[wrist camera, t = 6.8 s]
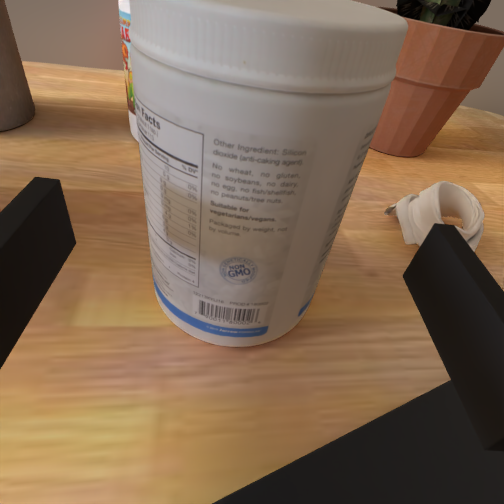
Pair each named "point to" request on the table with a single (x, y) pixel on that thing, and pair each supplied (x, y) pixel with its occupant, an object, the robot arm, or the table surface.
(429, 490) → the mat
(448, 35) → the potted plant
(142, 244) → the table surface
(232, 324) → the supplement tub
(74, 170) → the table surface
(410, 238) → the white wrapped ring
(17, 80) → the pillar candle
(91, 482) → the table surface
